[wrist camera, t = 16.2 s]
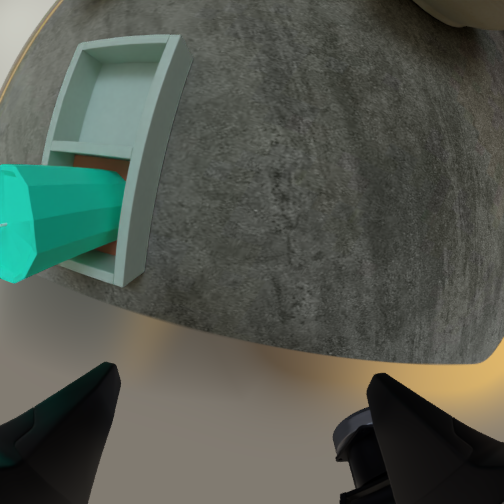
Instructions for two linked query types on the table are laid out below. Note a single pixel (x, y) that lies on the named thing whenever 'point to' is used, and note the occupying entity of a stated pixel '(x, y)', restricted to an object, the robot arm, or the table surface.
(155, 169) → the green divided tray
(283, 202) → the table surface
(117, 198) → the candle
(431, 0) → the planter bowl
